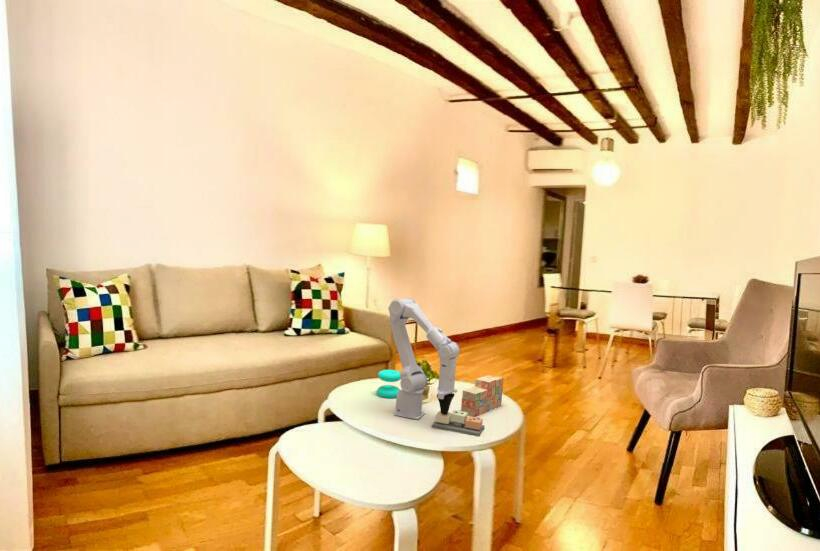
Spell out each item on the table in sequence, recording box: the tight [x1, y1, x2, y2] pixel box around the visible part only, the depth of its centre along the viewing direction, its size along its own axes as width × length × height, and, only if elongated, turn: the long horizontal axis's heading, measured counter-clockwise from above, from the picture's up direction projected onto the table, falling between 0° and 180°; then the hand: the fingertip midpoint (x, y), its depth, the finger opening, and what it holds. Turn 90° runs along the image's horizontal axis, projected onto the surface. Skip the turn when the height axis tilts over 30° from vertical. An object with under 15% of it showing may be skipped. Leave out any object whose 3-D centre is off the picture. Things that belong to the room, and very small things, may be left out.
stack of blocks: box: [460, 374, 504, 417], centre depth 204 cm, size 21×6×12 cm, turn 141°
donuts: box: [376, 369, 401, 399], centre depth 215 cm, size 10×10×10 cm
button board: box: [431, 421, 485, 437], centre depth 182 cm, size 17×9×3 cm, turn 70°
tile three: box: [465, 416, 483, 430], centre depth 180 cm, size 5×5×3 cm
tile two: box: [450, 409, 469, 423], centre depth 181 cm, size 5×5×3 cm
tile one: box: [434, 410, 452, 424], centre depth 183 cm, size 5×5×3 cm
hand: (444, 413), depth 183 cm, fingers closed, pressing on tile one
